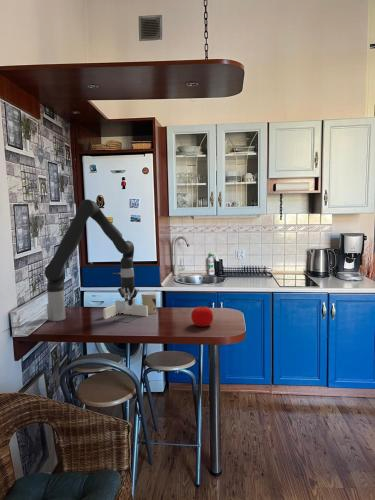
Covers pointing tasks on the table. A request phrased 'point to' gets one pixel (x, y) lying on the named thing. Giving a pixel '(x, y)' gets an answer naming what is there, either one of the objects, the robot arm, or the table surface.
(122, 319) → the mat
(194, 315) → the tomato
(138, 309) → the corner wall
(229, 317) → the table surface
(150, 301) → the coffee cup
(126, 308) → the bracket
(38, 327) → the table surface
